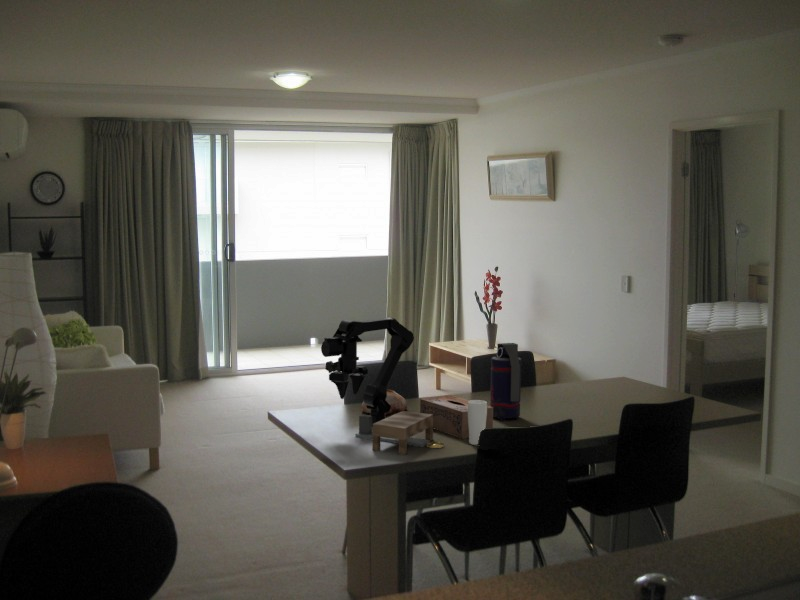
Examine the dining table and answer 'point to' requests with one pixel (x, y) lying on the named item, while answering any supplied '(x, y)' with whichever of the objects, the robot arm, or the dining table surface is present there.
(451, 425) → the tissue box cover
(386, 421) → the wooden footstool
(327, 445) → the dining table surface
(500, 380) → the grenade
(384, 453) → the dining table surface
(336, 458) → the dining table surface
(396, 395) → the bread
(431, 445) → the brass token
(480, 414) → the drinking glass
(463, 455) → the dining table surface
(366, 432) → the blade tool
